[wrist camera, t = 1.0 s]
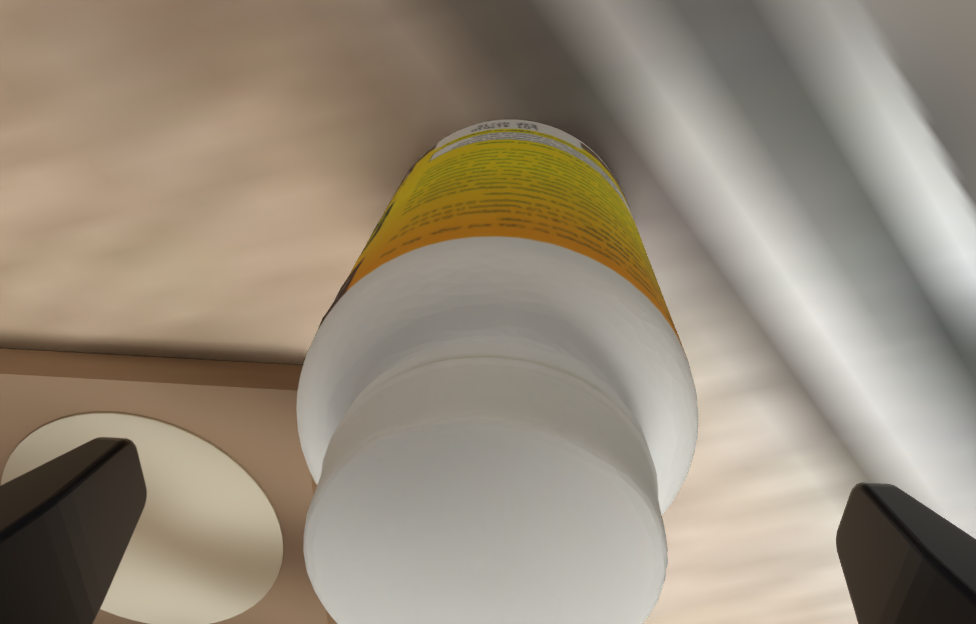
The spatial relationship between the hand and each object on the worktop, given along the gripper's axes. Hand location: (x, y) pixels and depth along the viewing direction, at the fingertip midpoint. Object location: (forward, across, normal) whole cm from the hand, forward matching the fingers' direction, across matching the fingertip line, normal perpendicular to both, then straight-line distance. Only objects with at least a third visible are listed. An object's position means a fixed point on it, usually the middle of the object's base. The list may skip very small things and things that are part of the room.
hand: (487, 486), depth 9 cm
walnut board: (+9, +10, +9) cm, 16 cm away
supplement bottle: (+9, 0, 0) cm, 9 cm away
